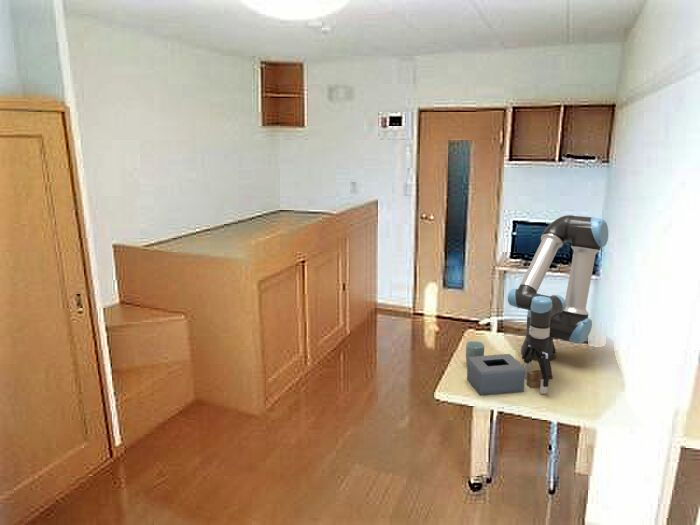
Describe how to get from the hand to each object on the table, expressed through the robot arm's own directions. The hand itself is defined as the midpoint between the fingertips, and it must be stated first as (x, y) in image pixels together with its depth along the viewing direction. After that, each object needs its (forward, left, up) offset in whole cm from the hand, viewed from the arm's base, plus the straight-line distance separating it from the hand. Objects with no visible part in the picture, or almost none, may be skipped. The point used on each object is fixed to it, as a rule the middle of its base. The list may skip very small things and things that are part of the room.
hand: (535, 385), depth 207 cm
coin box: (+16, -3, 0) cm, 16 cm away
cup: (+17, -22, 0) cm, 28 cm away
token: (0, 0, 0) cm, 0 cm away
